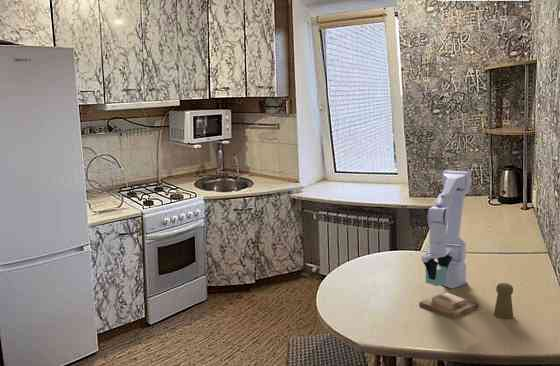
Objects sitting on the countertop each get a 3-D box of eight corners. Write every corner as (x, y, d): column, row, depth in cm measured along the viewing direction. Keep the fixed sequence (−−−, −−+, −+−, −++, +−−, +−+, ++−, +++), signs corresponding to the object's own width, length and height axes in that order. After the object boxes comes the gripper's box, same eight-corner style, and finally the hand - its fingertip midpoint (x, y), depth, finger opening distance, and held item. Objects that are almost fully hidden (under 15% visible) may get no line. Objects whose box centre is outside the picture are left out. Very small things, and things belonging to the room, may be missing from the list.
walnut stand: (444, 295, 199) (445, 287, 198) (478, 307, 188) (478, 299, 187) (419, 305, 191) (419, 297, 191) (452, 318, 180) (452, 310, 179)
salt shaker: (501, 320, 177) (503, 288, 175) (489, 313, 183) (491, 282, 181) (517, 317, 179) (518, 286, 177) (505, 310, 185) (506, 280, 183)
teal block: (435, 279, 197) (435, 263, 196) (446, 282, 193) (446, 266, 192) (425, 282, 194) (425, 266, 193) (436, 286, 190) (437, 269, 189)
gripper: (442, 234, 198) (441, 269, 200) (415, 241, 190) (414, 278, 192) (458, 238, 192) (457, 274, 194) (431, 246, 184) (430, 284, 186)
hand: (437, 277), depth 193 cm, fingers closed on teal block, 5 cm apart
